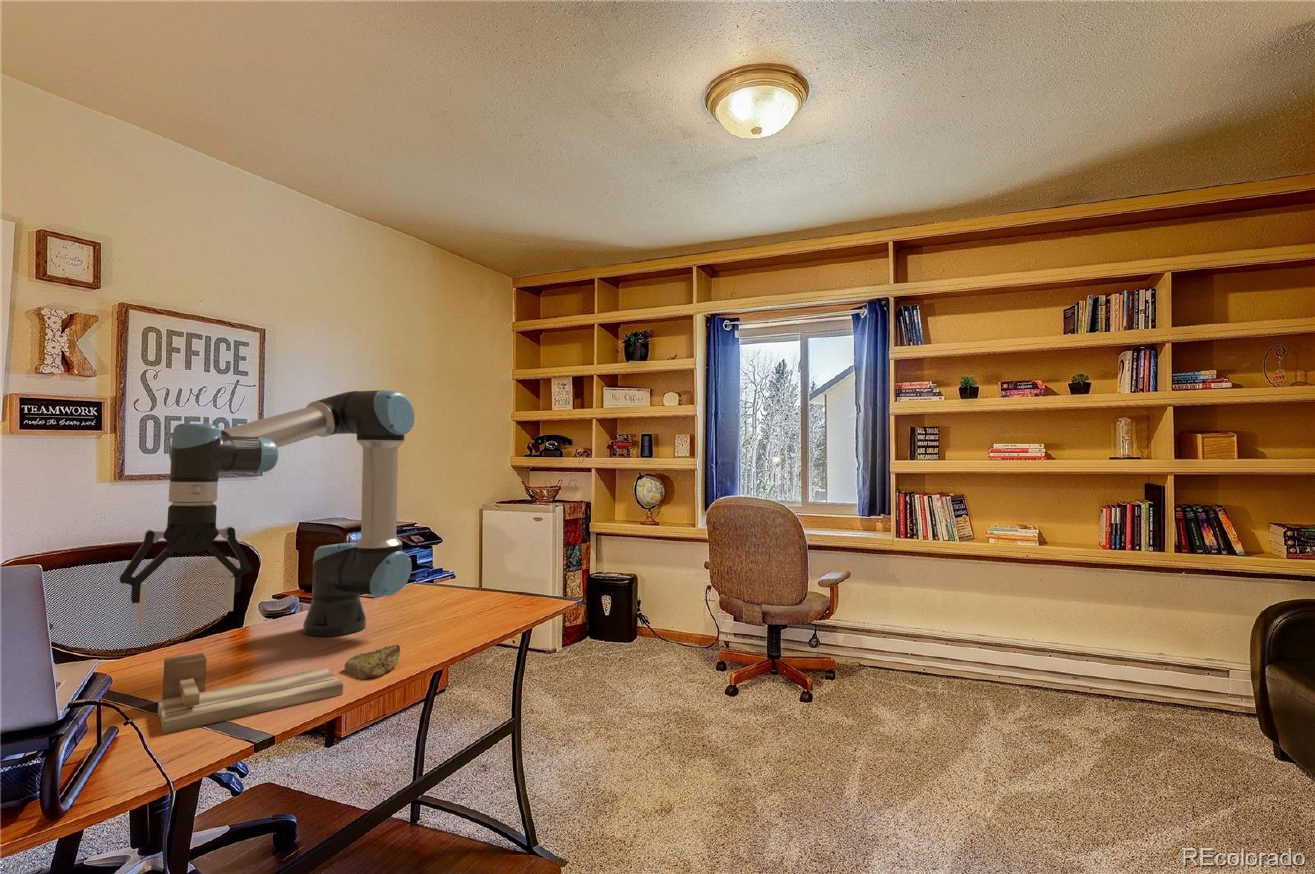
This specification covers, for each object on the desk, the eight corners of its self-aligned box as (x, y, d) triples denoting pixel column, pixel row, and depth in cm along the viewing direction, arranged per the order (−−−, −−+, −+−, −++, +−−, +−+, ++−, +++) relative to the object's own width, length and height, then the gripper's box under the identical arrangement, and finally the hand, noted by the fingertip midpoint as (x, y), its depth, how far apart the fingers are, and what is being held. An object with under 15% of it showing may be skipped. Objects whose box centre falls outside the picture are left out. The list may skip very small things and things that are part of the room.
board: (157, 711, 113) (158, 700, 113) (325, 677, 132) (326, 667, 132) (163, 734, 104) (164, 721, 104) (342, 694, 123) (343, 683, 123)
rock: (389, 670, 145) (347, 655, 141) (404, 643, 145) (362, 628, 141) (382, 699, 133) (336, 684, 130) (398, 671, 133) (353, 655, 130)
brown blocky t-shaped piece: (162, 701, 118) (164, 659, 118) (201, 693, 122) (203, 652, 122) (169, 728, 107) (172, 681, 107) (212, 718, 111) (214, 673, 111)
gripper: (107, 507, 108) (99, 629, 107) (272, 503, 125) (266, 609, 124) (106, 504, 114) (99, 620, 113) (264, 500, 131) (259, 602, 130)
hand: (186, 615), depth 118 cm, fingers open, 13 cm apart
